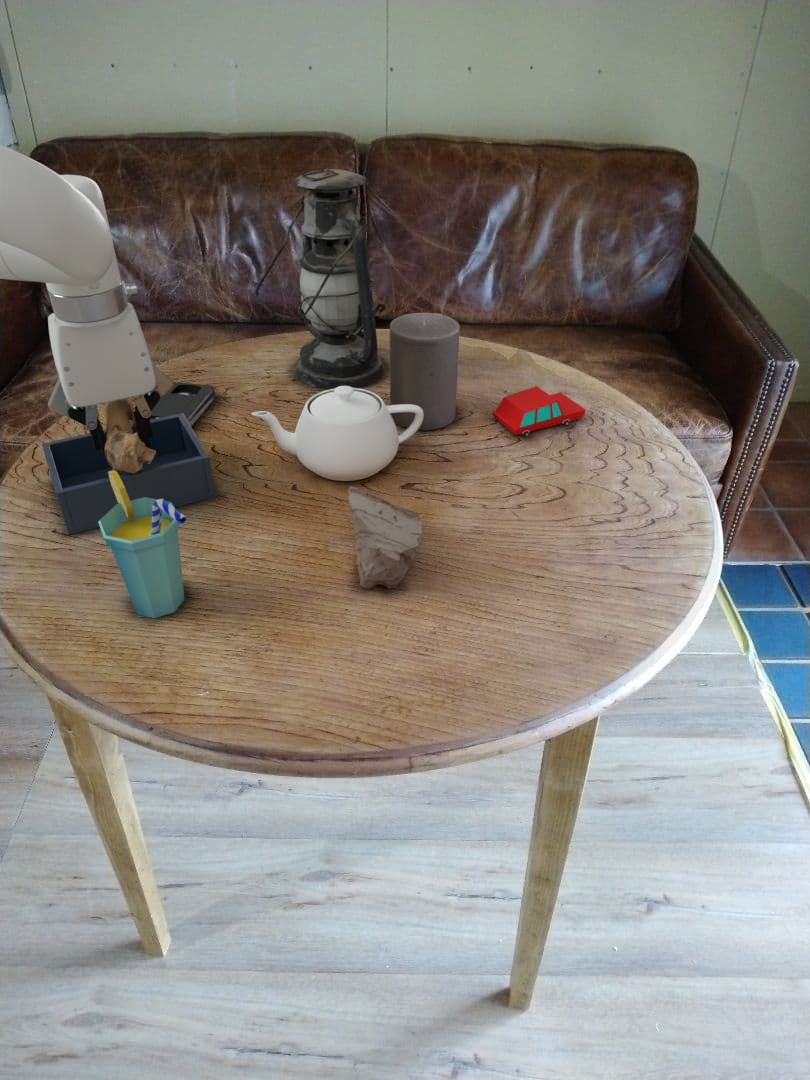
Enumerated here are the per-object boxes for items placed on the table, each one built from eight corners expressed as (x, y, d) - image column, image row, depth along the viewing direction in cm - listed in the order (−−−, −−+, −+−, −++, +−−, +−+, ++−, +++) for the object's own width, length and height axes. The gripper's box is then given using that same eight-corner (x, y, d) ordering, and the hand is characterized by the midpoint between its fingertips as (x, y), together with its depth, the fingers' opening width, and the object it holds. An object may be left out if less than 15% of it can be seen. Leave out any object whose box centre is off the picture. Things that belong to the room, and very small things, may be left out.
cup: (236, 614, 82) (216, 493, 73) (174, 656, 77) (144, 531, 68) (154, 560, 89) (126, 443, 80) (93, 595, 84) (56, 475, 75)
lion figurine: (165, 494, 96) (156, 445, 89) (120, 506, 94) (107, 457, 87) (133, 409, 103) (122, 357, 96) (91, 419, 101) (76, 367, 94)
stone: (425, 612, 82) (461, 524, 83) (359, 583, 78) (399, 490, 79) (354, 586, 95) (386, 509, 96) (294, 560, 90) (329, 479, 91)
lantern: (412, 376, 127) (413, 174, 108) (314, 413, 117) (297, 197, 99) (341, 340, 138) (332, 152, 120) (247, 371, 128) (221, 171, 110)
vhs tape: (178, 443, 110) (175, 431, 108) (124, 438, 111) (121, 425, 110) (216, 397, 121) (214, 385, 120) (167, 392, 122) (165, 380, 121)
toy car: (585, 421, 115) (589, 395, 112) (515, 439, 111) (517, 413, 108) (558, 402, 120) (562, 377, 117) (490, 419, 115) (492, 394, 113)
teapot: (412, 430, 113) (413, 359, 106) (434, 481, 102) (436, 406, 95) (255, 445, 109) (246, 373, 103) (261, 500, 98) (251, 423, 92)
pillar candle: (381, 425, 114) (378, 324, 105) (402, 395, 121) (402, 299, 112) (446, 435, 111) (449, 333, 102) (464, 405, 119) (468, 307, 110)
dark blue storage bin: (69, 535, 93) (55, 493, 89) (53, 482, 102) (41, 443, 98) (216, 496, 99) (209, 456, 96) (189, 450, 108) (182, 412, 105)
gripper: (158, 278, 92) (185, 419, 103) (2, 303, 86) (48, 449, 97) (174, 299, 86) (201, 445, 97) (9, 327, 80) (57, 479, 91)
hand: (124, 446), depth 97 cm, fingers closed on lion figurine, 4 cm apart
